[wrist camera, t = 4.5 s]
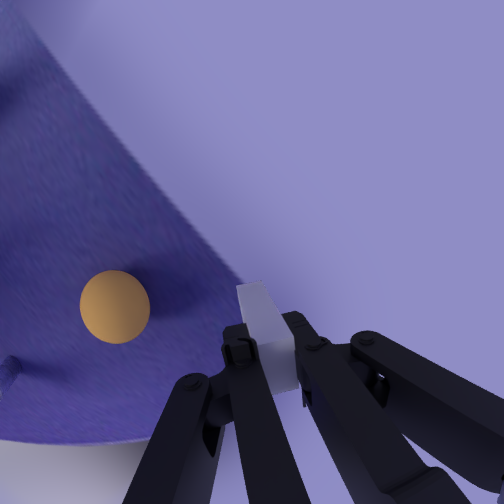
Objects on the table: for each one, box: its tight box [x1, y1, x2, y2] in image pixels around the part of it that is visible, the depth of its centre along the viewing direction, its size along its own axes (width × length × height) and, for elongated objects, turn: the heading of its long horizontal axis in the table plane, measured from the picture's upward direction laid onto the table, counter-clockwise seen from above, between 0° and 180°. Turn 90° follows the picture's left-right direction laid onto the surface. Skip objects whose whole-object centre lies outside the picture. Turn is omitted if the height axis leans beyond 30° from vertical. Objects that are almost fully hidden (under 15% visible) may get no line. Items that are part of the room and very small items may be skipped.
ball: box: [80, 270, 150, 344], centre depth 19 cm, size 6×6×6 cm
